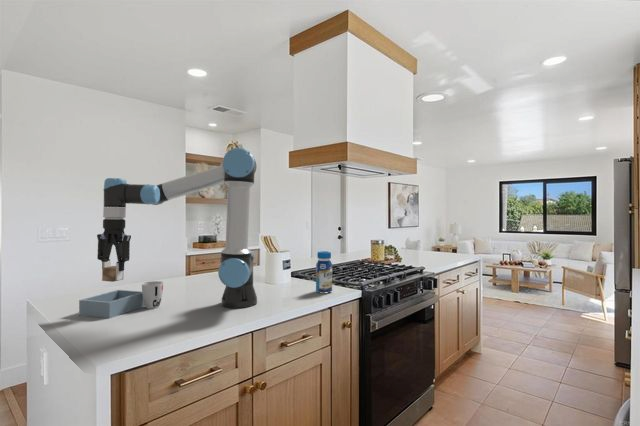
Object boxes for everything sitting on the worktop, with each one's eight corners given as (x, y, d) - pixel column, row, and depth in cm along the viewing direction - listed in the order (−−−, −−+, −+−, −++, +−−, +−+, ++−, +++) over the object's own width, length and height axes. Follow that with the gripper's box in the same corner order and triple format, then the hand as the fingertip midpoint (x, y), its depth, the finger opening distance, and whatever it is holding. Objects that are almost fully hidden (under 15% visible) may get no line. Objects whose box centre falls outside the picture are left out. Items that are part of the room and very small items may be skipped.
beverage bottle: (321, 289, 187) (322, 250, 187) (335, 291, 182) (335, 251, 182) (312, 292, 180) (312, 252, 180) (326, 294, 175) (326, 253, 175)
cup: (154, 310, 146) (154, 285, 146) (137, 309, 148) (137, 284, 148) (167, 305, 154) (167, 281, 154) (150, 304, 156) (150, 280, 156)
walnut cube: (123, 279, 141) (123, 266, 141) (113, 281, 136) (113, 268, 136) (112, 278, 143) (113, 265, 143) (102, 280, 138) (102, 267, 138)
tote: (145, 305, 153) (145, 291, 153) (109, 318, 135) (109, 302, 135) (118, 303, 157) (118, 289, 157) (79, 315, 138) (79, 300, 138)
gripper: (141, 219, 141) (139, 279, 141) (102, 217, 145) (101, 275, 145) (127, 219, 134) (125, 282, 134) (86, 217, 138) (85, 279, 138)
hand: (112, 278), depth 140 cm, fingers closed on walnut cube, 5 cm apart
